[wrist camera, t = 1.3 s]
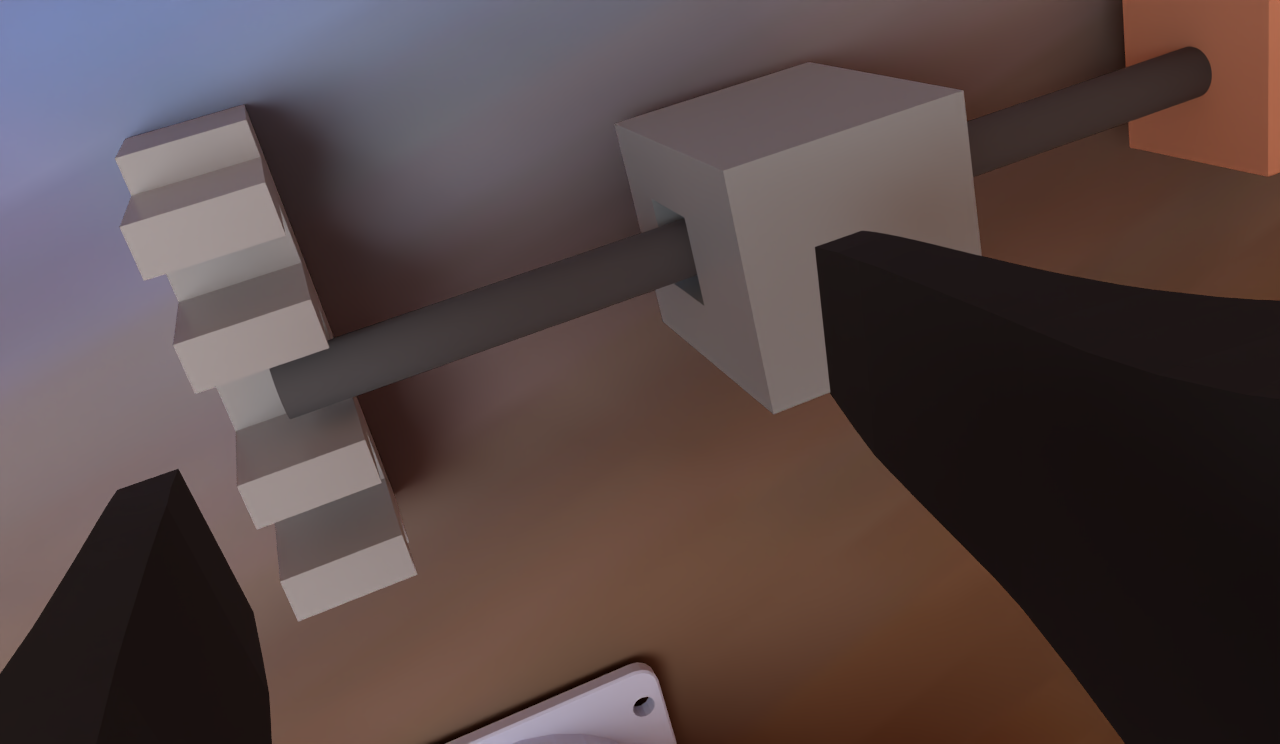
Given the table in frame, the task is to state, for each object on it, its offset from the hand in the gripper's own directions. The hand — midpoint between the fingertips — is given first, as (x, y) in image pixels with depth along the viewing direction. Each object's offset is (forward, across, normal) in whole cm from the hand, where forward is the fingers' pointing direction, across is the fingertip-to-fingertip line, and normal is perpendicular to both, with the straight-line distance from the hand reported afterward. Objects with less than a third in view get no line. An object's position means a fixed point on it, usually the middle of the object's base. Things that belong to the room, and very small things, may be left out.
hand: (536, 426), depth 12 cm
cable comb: (+9, +3, +2) cm, 10 cm away
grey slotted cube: (+10, -6, +2) cm, 11 cm away
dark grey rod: (+8, -7, +2) cm, 11 cm away
